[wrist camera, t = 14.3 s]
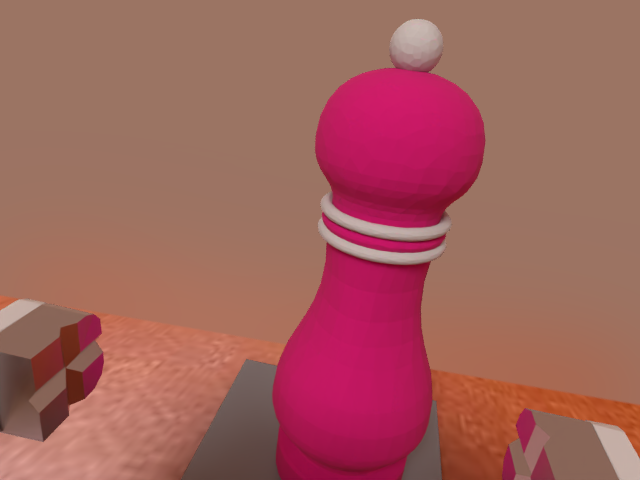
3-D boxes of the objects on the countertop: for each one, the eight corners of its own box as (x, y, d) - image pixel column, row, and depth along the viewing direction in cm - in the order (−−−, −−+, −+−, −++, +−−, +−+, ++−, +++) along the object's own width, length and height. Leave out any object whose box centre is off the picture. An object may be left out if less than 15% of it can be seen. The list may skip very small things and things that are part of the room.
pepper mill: (368, 398, 27) (445, 31, 20) (440, 506, 21) (592, 37, 13) (249, 422, 24) (283, 4, 17) (293, 555, 18) (378, -3, 11)
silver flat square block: (430, 419, 28) (436, 400, 28) (443, 648, 17) (452, 625, 17) (244, 377, 30) (246, 359, 29) (148, 564, 19) (147, 540, 18)
